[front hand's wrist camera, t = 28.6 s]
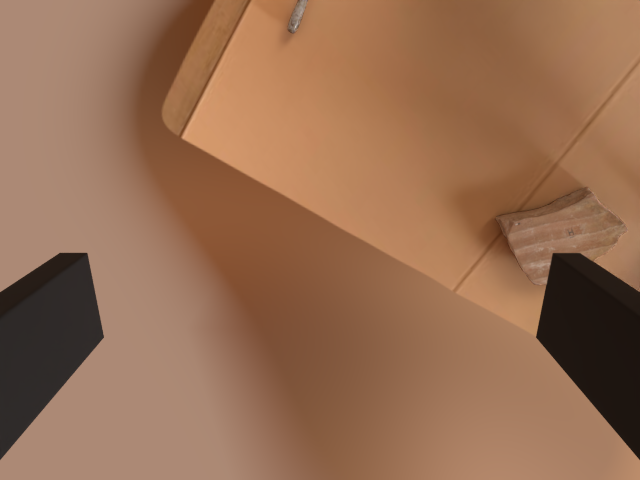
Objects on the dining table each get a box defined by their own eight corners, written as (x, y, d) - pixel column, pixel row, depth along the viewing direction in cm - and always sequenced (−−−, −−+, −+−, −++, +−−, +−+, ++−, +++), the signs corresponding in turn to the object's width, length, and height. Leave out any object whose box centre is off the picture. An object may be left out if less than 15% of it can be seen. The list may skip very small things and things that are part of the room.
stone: (529, 291, 57) (538, 300, 55) (491, 218, 54) (500, 224, 52) (623, 243, 55) (637, 250, 53) (591, 163, 52) (604, 167, 49)
